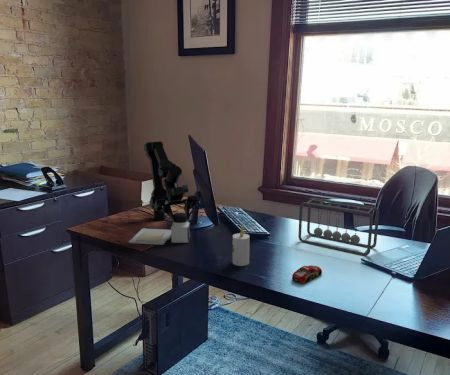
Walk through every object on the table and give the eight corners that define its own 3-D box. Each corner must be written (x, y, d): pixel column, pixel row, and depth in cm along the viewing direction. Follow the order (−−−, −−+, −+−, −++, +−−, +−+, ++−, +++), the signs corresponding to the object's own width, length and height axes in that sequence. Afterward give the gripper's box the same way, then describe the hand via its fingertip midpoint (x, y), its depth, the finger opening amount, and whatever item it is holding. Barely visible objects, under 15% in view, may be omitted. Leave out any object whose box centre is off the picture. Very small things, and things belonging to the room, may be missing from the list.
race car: (311, 269, 146) (312, 259, 145) (324, 274, 142) (325, 264, 141) (288, 280, 137) (289, 269, 136) (301, 286, 133) (302, 275, 132)
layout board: (142, 229, 187) (142, 226, 186) (173, 231, 185) (173, 228, 184) (128, 243, 170) (128, 239, 170) (163, 244, 168) (163, 241, 168)
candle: (229, 260, 153) (229, 223, 149) (245, 258, 155) (245, 221, 151) (235, 267, 147) (235, 228, 143) (251, 264, 149) (252, 226, 146)
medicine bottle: (188, 243, 170) (187, 216, 167) (171, 242, 170) (170, 216, 168) (189, 237, 177) (189, 211, 174) (173, 237, 177) (173, 211, 174)
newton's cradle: (297, 241, 172) (299, 201, 168) (307, 234, 181) (309, 196, 176) (369, 257, 156) (373, 213, 152) (376, 248, 164) (380, 207, 160)
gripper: (154, 181, 167) (163, 213, 160) (196, 177, 175) (206, 207, 168) (150, 194, 176) (158, 226, 169) (190, 190, 184) (199, 220, 177)
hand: (181, 219), depth 170 cm, fingers closed on medicine bottle, 6 cm apart
